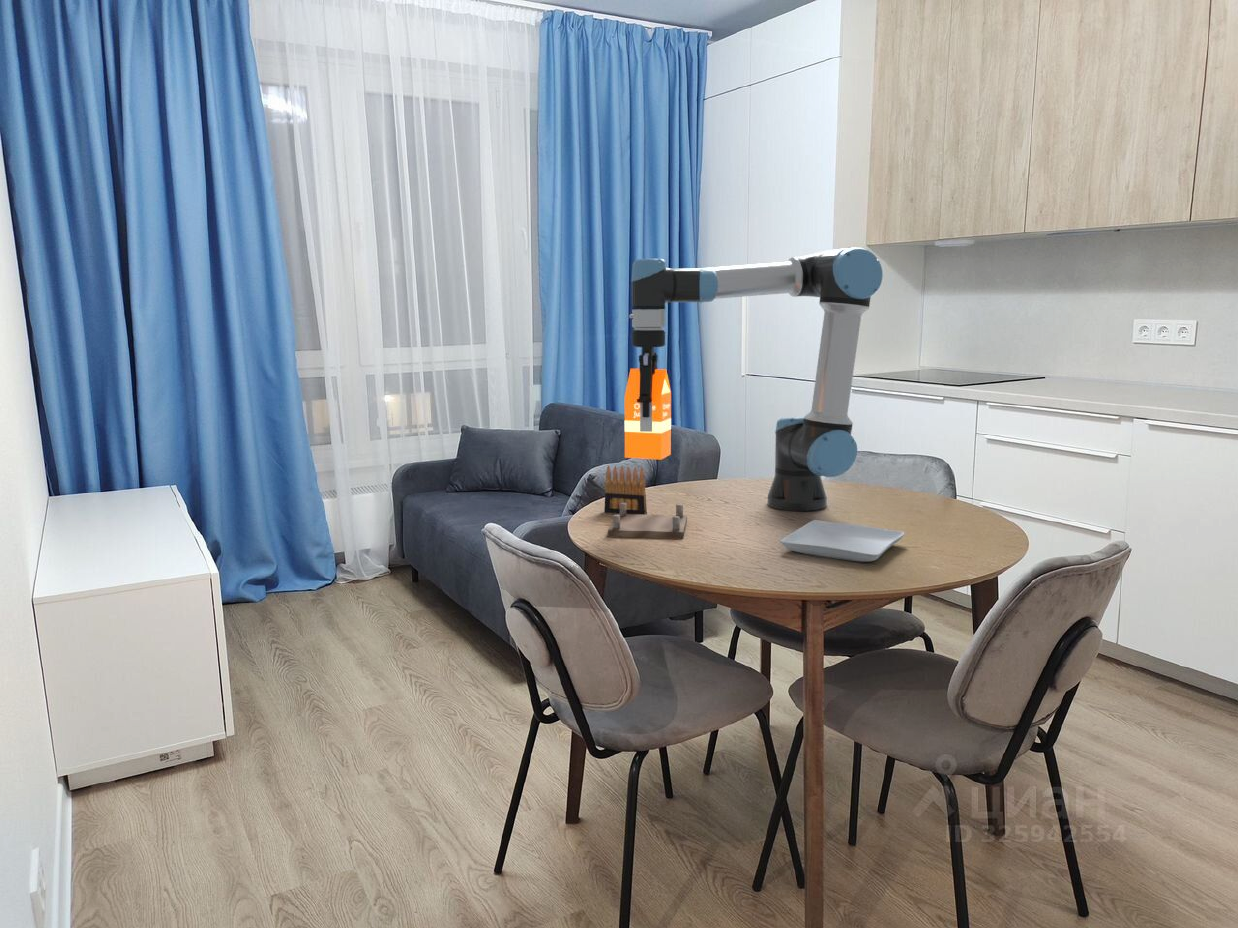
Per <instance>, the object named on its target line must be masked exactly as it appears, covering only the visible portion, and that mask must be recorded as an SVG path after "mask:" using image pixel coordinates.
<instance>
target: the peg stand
mask: <svg viewBox="0 0 1238 928" xmlns="http://www.w3.org/2000/svg"><path fill="white" fill-rule="evenodd" d="M683 511H684V504H681V503H678V504H676V505H675V515H672V514H670V515H669V514H645V515H640V514H626V503H620V514H617V513H616V514H614V515H612V523H611V524H610V525H609V527H608V530H607V537H608V536H615V538H619V537H618V536H622V537H621V538H643V537H648V538H647V539H649V538H650V539H651V538H652V539H655V538H656V539H684V536H685V532H686V527H687V523H688V515H684V514H683Z"/></svg>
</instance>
